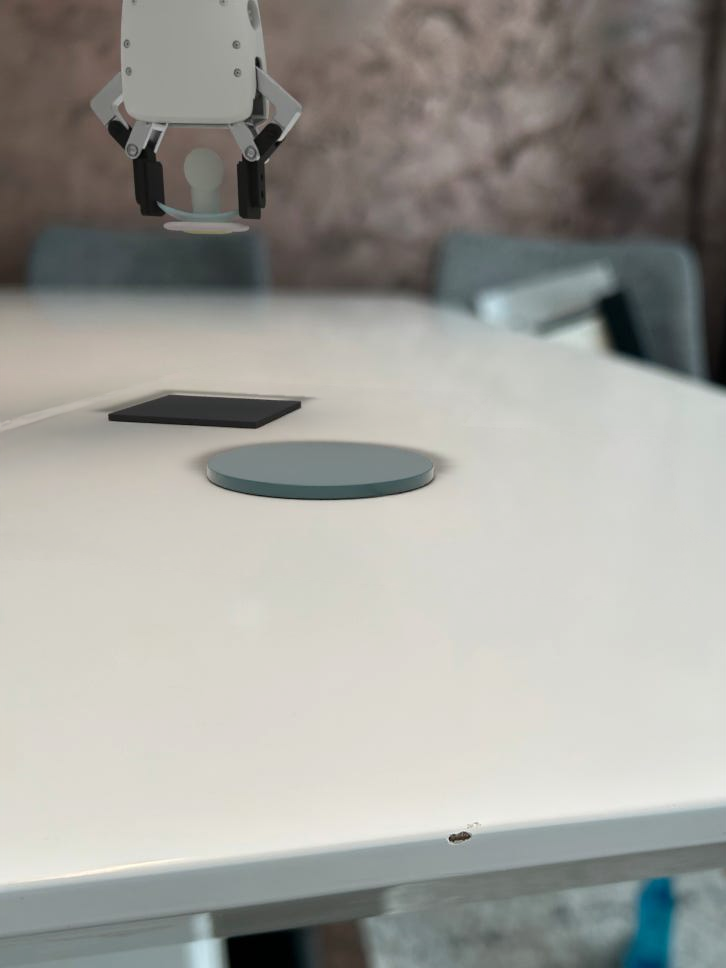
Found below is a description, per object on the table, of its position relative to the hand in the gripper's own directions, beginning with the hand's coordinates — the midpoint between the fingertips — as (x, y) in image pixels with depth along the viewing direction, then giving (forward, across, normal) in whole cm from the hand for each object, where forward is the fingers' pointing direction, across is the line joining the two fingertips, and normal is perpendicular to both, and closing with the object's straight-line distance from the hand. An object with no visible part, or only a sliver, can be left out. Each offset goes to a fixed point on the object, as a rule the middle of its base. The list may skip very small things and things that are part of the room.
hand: (201, 215), depth 86 cm
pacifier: (+1, 0, 0) cm, 2 cm away
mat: (+15, 0, 0) cm, 15 cm away
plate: (+15, -15, +21) cm, 30 cm away
